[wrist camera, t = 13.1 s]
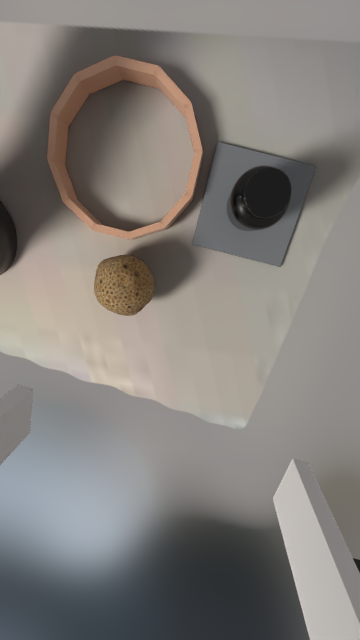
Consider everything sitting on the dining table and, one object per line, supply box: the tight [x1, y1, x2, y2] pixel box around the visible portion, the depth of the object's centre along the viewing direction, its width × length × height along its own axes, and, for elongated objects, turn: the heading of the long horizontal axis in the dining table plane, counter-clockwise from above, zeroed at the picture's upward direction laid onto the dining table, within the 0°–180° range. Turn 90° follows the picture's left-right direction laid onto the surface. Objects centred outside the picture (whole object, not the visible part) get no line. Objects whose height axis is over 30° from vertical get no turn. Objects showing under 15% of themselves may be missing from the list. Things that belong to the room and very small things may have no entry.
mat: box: [192, 142, 316, 267], centre depth 38 cm, size 14×14×1 cm
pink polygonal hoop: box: [47, 55, 203, 239], centre depth 36 cm, size 21×21×3 cm
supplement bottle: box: [227, 165, 292, 231], centre depth 32 cm, size 7×7×12 cm
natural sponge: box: [94, 255, 154, 316], centre depth 38 cm, size 9×9×10 cm
